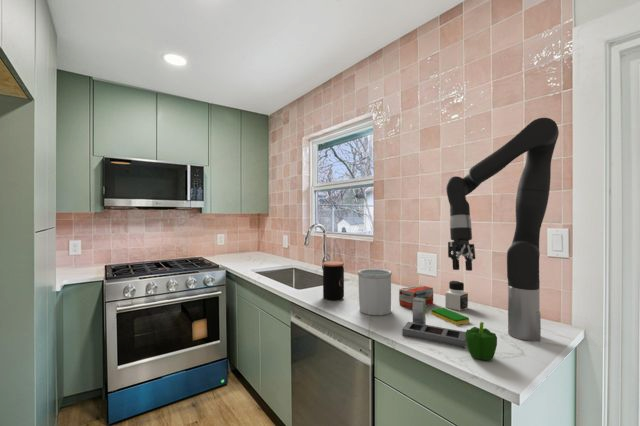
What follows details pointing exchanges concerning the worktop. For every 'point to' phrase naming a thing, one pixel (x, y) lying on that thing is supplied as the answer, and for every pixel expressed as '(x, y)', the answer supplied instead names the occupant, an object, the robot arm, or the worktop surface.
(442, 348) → the worktop surface
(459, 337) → the peg hole block
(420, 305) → the steel peg
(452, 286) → the medicine bottle
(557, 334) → the worktop surface
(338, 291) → the coffee jar
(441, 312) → the dish sponge
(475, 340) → the bell pepper
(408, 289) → the medicine box
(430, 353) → the worktop surface
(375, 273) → the utensil holder
